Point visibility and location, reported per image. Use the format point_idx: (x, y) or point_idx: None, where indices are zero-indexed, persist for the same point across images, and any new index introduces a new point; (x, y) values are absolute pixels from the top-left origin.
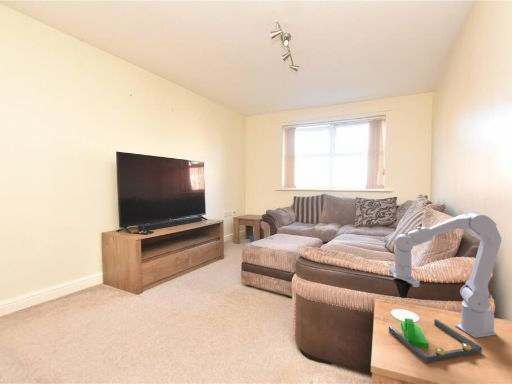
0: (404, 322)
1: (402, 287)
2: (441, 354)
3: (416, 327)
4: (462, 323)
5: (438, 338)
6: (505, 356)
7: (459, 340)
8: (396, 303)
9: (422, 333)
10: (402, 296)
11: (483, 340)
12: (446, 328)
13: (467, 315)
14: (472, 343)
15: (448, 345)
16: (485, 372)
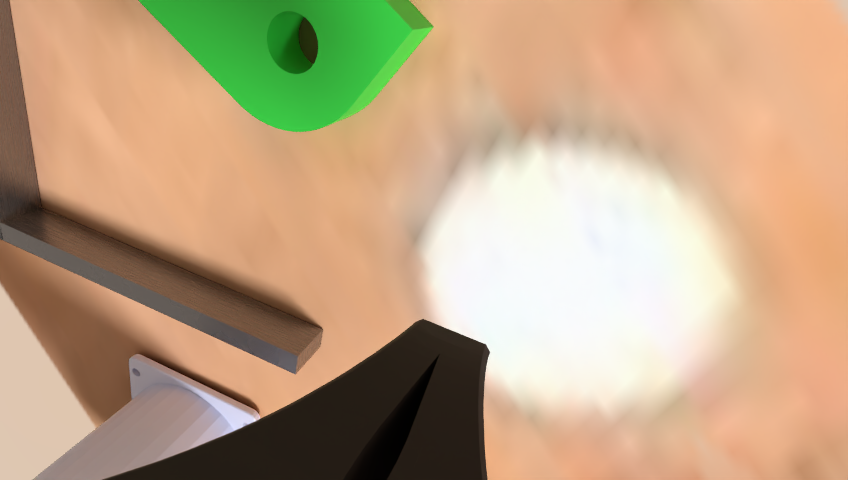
0: (379, 51)
1: (126, 474)
2: None
3: (263, 79)
4: (188, 430)
5: (180, 151)
6: (8, 288)
7: (130, 248)
8: (782, 470)
9: (170, 23)
10: (400, 340)
11: (119, 361)
12: (199, 301)
13: (75, 478)
14: (20, 231)
15: (105, 122)
16: None
